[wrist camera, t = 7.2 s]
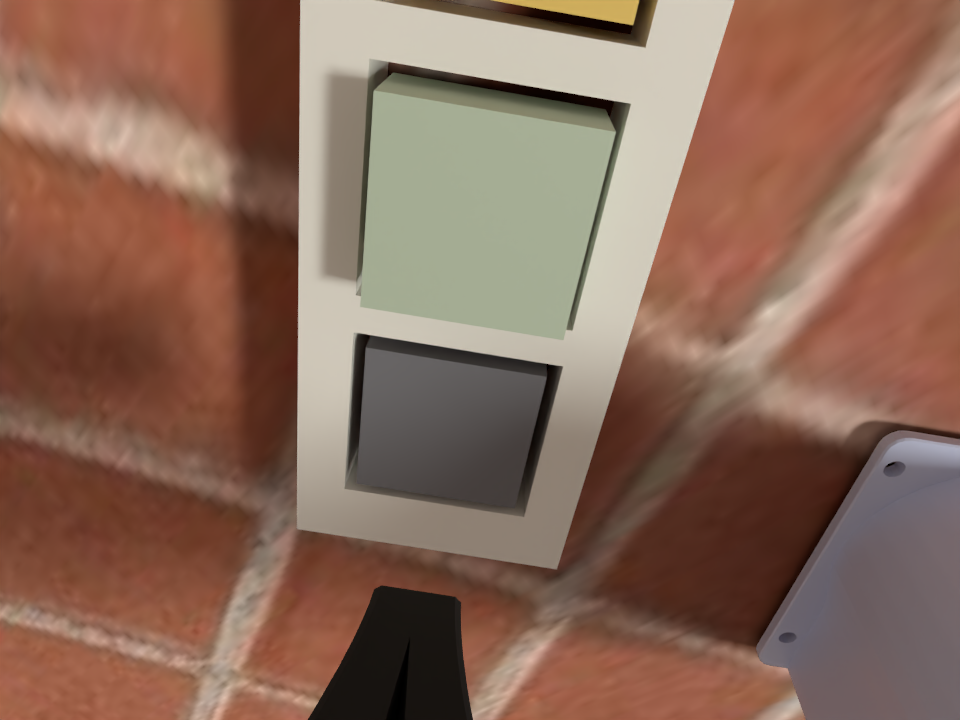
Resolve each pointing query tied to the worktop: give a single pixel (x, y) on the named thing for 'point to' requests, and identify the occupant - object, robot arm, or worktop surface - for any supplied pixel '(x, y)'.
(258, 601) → the worktop surface
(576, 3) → the ochre button
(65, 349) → the worktop surface
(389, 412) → the charcoal button
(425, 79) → the sage button
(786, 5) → the worktop surface
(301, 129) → the button panel
